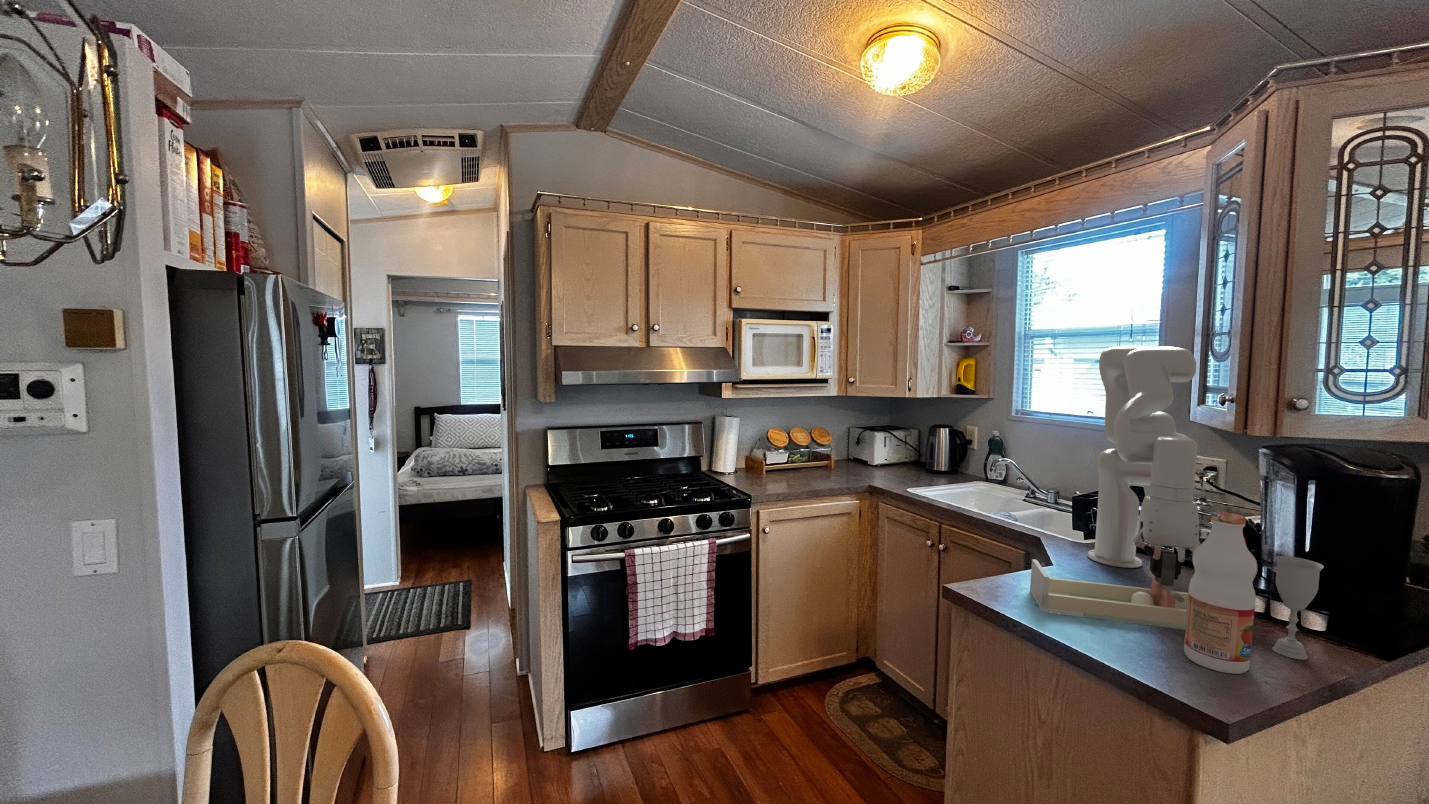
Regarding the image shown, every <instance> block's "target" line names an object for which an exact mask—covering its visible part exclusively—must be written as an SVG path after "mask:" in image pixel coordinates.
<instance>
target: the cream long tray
mask: <svg viewBox="0 0 1429 804" xmlns="http://www.w3.org/2000/svg"><path fill="white" fill-rule="evenodd" d="M1030 570H1031V572H1030V589H1029V593H1030V594H1031V596H1032V597H1033V599H1034V600H1036V601H1035V602H1036V604H1037V606H1038V605H1039V606H1038V607H1039V609H1040V611H1041V610H1042V611H1043V612H1042V611H1041V612H1042V613H1048V612H1052V613H1051V614H1056V613H1060V614H1059V615H1066V616H1071V615H1072V617H1079V616H1080V617H1081V618H1088V619H1097V620H1103V621H1113V622H1121V623H1126V624H1127V623H1129V624H1136V625H1145V626H1153V627H1161V628H1168V629H1176V630H1182V631H1183V630H1184V631H1185V629H1186V617H1187V606H1188V592H1185V591H1184V592H1183V591H1176V592H1177V593H1178V594H1179V595H1180V596H1182V597H1183V598H1184V602H1182V603H1180V602H1178V601H1177V600H1175V608H1169V607H1160V606H1152V605H1143V604H1135V603H1132V602H1131V597H1132V595H1133V594H1134V593H1136V592H1140V591H1141V592H1145V593H1147V594H1149V595H1150V596H1151V589H1152V588H1148V587H1141V586H1140V587H1138V586H1129V585H1122V584H1121V585H1119V584H1110V583H1104V582H1103V583H1102V582H1096V581H1095V582H1094V581H1093V582H1092V581H1085V580H1083V581H1082V580H1076V579H1066V578H1058V577H1051V576H1049V575H1048V573H1047V572H1046V570H1045V569H1044V568H1043V566H1042V565H1041V564H1040V562H1039V561H1038V559H1034V558H1033V559H1031V569H1030Z"/></svg>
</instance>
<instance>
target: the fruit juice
mask: <svg viewBox="0 0 1429 804" xmlns="http://www.w3.org/2000/svg"><path fill="white" fill-rule="evenodd" d="M1209 518H1210V522H1211V524H1212V525H1211V528H1210V530H1209V532H1208V535H1207V537H1205V540H1204V541H1203V542H1202V543H1200V544H1201V545H1199V546H1198V547H1197V548H1196V549H1195V550H1194V553H1193V554H1192V557H1191V558H1192V565H1193V568H1194V572H1193V574H1192V576H1191V577H1190V580H1189V584H1188V592H1187V593H1188V606H1187V617H1186V629H1185V630H1184V631H1185V632H1184V633H1185V634H1184V641H1183V642H1184V643H1183V651H1184V655H1185V656H1186V657H1187V659H1188V660H1191V661H1192V662H1193V663H1195V664H1197V665H1199V666H1201V667H1203V668H1207V669H1210V670H1213V671H1216V672H1220V673H1223V674H1224V673H1226V674H1231V675H1232V674H1233V675H1235V674H1236V675H1237V674H1238V675H1239V674H1244V673H1247V671H1248V670H1249V669H1250V665H1251V652H1252V643H1253V633H1254V622H1255V621H1254V619H1255V610H1256V609H1255V608H1256V590H1255V588H1254V586H1253V583H1254V582H1253V581H1254V580H1255V578H1256V575H1257V574H1258V563H1257V560H1256V558H1255V556H1254V555H1253V554H1252V553H1251V551H1249V549H1248V546H1247V543H1246V544H1245V541H1244V538H1245V536H1244V533H1243V531H1244V528H1245V527H1246V523H1247V520H1246V517H1245V516H1243V515H1242V514H1241V515H1240V514H1237V513H1233V512H1232V513H1231V512H1225V511H1213V512H1211V514H1210V517H1209ZM1243 536H1244V537H1243Z"/></svg>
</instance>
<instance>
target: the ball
mask: <svg viewBox="0 0 1429 804" xmlns="http://www.w3.org/2000/svg"><path fill="white" fill-rule="evenodd" d="M1131 602H1132V603H1135V604H1143V605H1152V606H1153V599H1152V597H1151V596H1150V595H1149V594H1147V593H1145V592H1141V591H1140V592H1136V593H1134V594H1133V595H1132V597H1131Z"/></svg>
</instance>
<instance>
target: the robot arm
mask: <svg viewBox="0 0 1429 804" xmlns="http://www.w3.org/2000/svg"><path fill="white" fill-rule="evenodd" d="M1098 367H1099V368H1098V369H1099V375H1100V378H1101V382H1102V385H1103V387H1104V390H1105V406H1104V407H1105V411H1104V412H1105V413H1104V435H1105V437H1106V439H1107V440H1108V441H1109V442H1111V443H1113V444H1114V443H1115V448H1108V449H1104V450H1102V451H1101V452H1100V453H1098V455H1097V460H1096V470H1097V477H1098V494H1097V495H1098V498H1097V513H1096V528H1095V540H1094V541H1095V543H1094V549H1090V550H1088V552H1087V557H1088V558H1089V559H1090V560H1093V561H1094V562H1097V563H1100V564H1102V565H1106V566H1107V565H1108V566H1112V567H1118V568H1123V569H1124V568H1125V569H1127V568H1130V569H1133V568H1135V569H1136V568H1140V567H1142V565H1143V561H1142V559H1141V558H1139V557H1138V556H1136V552H1137V547H1138V548H1141V549H1142V550H1143V551H1145V552H1146V553H1147V555H1149V556H1150V563H1149V571H1151V572H1152V574H1153V575H1154V576H1156V577H1157V578H1160V577H1161V573H1162V560H1161V559H1160V553H1161V549H1162V547H1169V548H1170V547H1171V548H1172V549H1171V551H1172V552H1173V553H1175V554H1176V563H1175V576H1174V581H1178V580H1179V576H1180V575H1181V574H1182V563H1184V562H1185V560H1186V559H1187V558H1188V557H1190V556H1191V555H1193V553H1194V550H1195V549H1196V548H1197V547H1198V546H1199V545H1201V544H1202V543H1201V541H1200V521H1199V510H1198V505H1197V502H1195V498H1197V497H1199V498H1200V497H1202V491H1201V489H1200V490H1199V489H1196V488H1195V481H1196V470H1197V458H1198V443H1197V441H1195V440H1194V439H1192V438H1190V437H1189V436H1188V434H1187V435H1186V434H1184V433H1179V432H1177V430H1176V429H1177V427H1176V422H1175V419H1174V418H1173V417H1172V415H1171V414H1170V413H1167V412H1165V411H1164V410H1166V409H1167V408H1169V407H1170V406H1171V405H1172V403H1173V402H1174V398H1175V397H1174V392H1173V388H1172V384H1171V383H1187V382H1188V383H1189V381H1191V380H1193V379H1194V377H1195V375H1196V373H1197V372H1196V371H1197V361H1196V359H1195V356H1194V354H1193V353H1192V351H1190V350H1188V349H1187V348H1181V347H1175V346H1155V345H1153V346H1152V345H1151V346H1149V345H1148V346H1147V345H1146V346H1145V345H1144V346H1141V345H1120V346H1112V347H1109V348H1106V349H1103V351H1101V354H1100V356H1099V361H1098ZM1131 485H1133V486H1134V485H1139V486H1149V496H1147V495H1146V496H1144V498H1143V501H1142V503H1141V507H1140V499H1139V498H1138V496H1137V494H1136V493H1135V492H1134V490H1132V488H1131V487H1130V486H1131ZM1144 542H1145V543H1144Z"/></svg>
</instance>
